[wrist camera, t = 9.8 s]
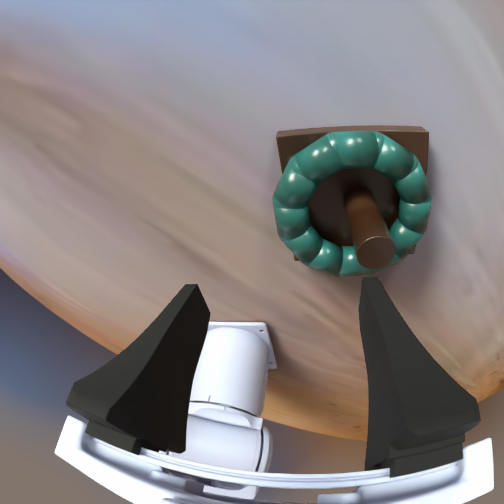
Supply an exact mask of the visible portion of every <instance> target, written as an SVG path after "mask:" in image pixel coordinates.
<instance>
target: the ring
mask: <svg viewBox="0 0 504 504" xmlns="http://www.w3.org/2000/svg"><path fill="white" fill-rule="evenodd" d="M359 168H371V169H373V170H375V171H377V172H379V173H380V174H382V175H384V176H386V177H388V178H389V179H391V180H392V182H393V184H394V186H395V188H396V190H397V192H398V194H399V196H400V204H399V213H398V218H397V219H396V220H395V222H394V223H393V224H392V226H391V227H390V229H389V232H390V235H391V237H392V240H393V242H394V245H395V255H394V257H393V259H392V260H391V261H390V262H389V263H388V264H387V265H385V266H384V267H381V268H378V269H368V268H365V267H363V266H361V265H360V264H359V263H358V261H357V259H356V255H355V250H354V246H340V245H337V244H335V243H332V242H330V241H328V240H325V239H323V238H321V237H320V235H319V234H318V233H317V232H316V230H315V229H314V228H313V226H312V225H311V224H310V219H309V207H308V203H309V202H310V200H311V198H312V196H313V194H314V192H315V191H316V189H317V187H318V185H319V183H321V182H323V181H324V180H326V179H328V178H329V177H331V176H332V175H334V174H336V173H337V172H339V171H341V170H343V169H359ZM431 201H432V192H431V188H430V186H429V183H428V181H427V179H426V176H425V174H424V172H423V169H422V167H421V165H420V163H419V160H418V158H417V157H416V156H415V155H414V154H413V153H412V152H411V151H409V150H408V149H406V148H405V147H403V146H401V145H400V144H398V143H397V142H395V141H393V140H392V139H390V138H389V137H387V136H385V135H384V134H382V133H380V132H377V131H342V132H331V133H328V134H326V135H324V136H323V137H321V138H320V139H318V140H316V141H315V142H313V143H312V144H310V145H309V146H307V147H306V148H304V149H303V150H301V151H300V152H298V153H296V154H295V155H294V156H292V157H291V159H290V160H289V162H288V164H287V166H286V168H285V170H284V172H283V175H282V177H281V179H280V181H279V183H278V185H277V187H276V190H275V192H274V195H273V206H274V212H275V219H276V225H277V231H278V235H279V237H280V239H281V240H282V241H283V242H284V243H285V245H286V246H287V247H288V248H289V249H290V250H291V251H292V252H293V253H294V255H295V256H296V257H297V258H298V259H299V260H300V261H301V262H302V263H303V264H305V265H306V266H309V267H312V268H314V269H317V270H320V271H322V272H325V273H328V274H330V275H333V276H338V277H341V276H359V275H371V274H374V273H376V272H378V271H380V270H383V269H385V268H387V267H389V266H391V265H393V264H395V263H397V262H399V261H401V260H402V259H404V258H405V257H406V255H407V254H408V253H409V252H410V251H411V249H412V248H413V247H414V246H415V244H416V243H417V242H418V241H419V239H420V238H421V237H422V236H423V234H424V233H425V231H426V228H427V223H428V218H429V213H430V207H431Z"/></svg>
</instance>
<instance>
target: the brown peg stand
mask: <svg viewBox="0 0 504 504" xmlns="http://www.w3.org/2000/svg"><path fill="white" fill-rule="evenodd" d="M342 131H377V132H380V133H382V134H384V135H385V136H387V137H389V138H390V139H392V140H393V141H395V142H397V143H398V144H400V145H401V146H403V147H405V148H406V149H408V150H409V151H411V152H412V153H413V154H414V155H415V156H416V157H417V158H418V160H419V163H420V165H421V167H422V169H423V172H424V174H425V176H426V172H427V160H428V142H429V132H428V131H426V130H425V129H423V128H422V127H414V126H341V127H323V128H309V129H297V130H287V131H278V132H277V136H276V139H277V145H278V151H279V157H280V163H281V169H282V175H283V172H284V170H285V168H286V166H287V164H288V162H289V160H290V159H291V157H292V156H294V155H295V154H296V153H298V152H300V151H301V150H303V149H304V148H306V147H307V146H309V145H310V144H312V143H313V142H315V141H316V140H318V139H320V138H321V137H323V136H324V135H326V134H328V133H331V132H342ZM399 204H400V196H399V194H398V192H397V190H396V188H395V186H394V184H393V182H392V180H391V179H389V178H388V177H386V176H384V175H382V174H380V173H379V172H377V171H375V170H373V169H371V168H359V169H343V170H341V171H339V172H337V173H336V174H334V175H332V176H331V177H329V178H328V179H326V180H324V181H323V182H321V183H319V185H318V187H317V189H316V191H315V192H314V194H313V196H312V198H311V200H310V202H309V203H308V207H309V219H310V224H311V225H312V226H313V228H314V229H315V230H316V232H317V233H318V234H319V235H320V237H321V238H323V239H325V240H328V241H330V242H332V243H335V244H337V245H340V246H354V250H355V255H356V259H357V261H358V263H359V264H360V265H361V266H363V267H365V268H368V269H378V268H381V267H384V266H385V265H387V264H388V263H389V262H390V261H391V260H392V259H393V257H394V255H395V245H394V242H393V240H392V237H391V235H390V232H389V229H390V227H391V226H392V224H393V223H394V222H395V220H396V219H397V218H398V213H399ZM415 247H416V244H415V246H414V247H413V248H412V249H411V251H410V252H409V253H408V254H414V251H415ZM294 260H295V261H300V260H299V259H298V258H297V257H296V256H295V255H294Z"/></svg>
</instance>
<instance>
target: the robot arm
mask: <svg viewBox="0 0 504 504" xmlns="http://www.w3.org/2000/svg"><path fill="white" fill-rule="evenodd" d="M209 319H210V311H209V309H208V307H207V304H206V302H205V300H204V298H203V296H202V293H201V291H200V289H199V287H198V284H186V285H185V286H184V287H183V288H182V289H181V290H180V291H179V292H178V294H177V295H176V296H175V297H174V298H173V299H172V301H171V302H170V303H169V304H168V305H167V307H166V308H165V309H164V310H163V311H162V312H161V313H160V315H159V316H158V317H157V318H156V319H155V320H154V321H153V322H152V323H151V324H150V326H149V327H148V328H147V329H146V330H145V331H144V332H143V333H142V334H141V335H140V336H139V337H138V338H137V339H136V340H135V341H134V342H133V343H131V344H130V345H129V346H128V347H127V348H126V349H125V350H123V351H122V352H121V353H120V354H118V355H117V356H116V357H115V358H113V359H112V360H111V361H109V362H108V363H107V364H105V365H104V366H102V367H101V368H99V369H98V370H96V371H94V372H93V373H91V374H89V375H88V376H86V377H84V378H82V379H80V380H78V381H76V382H75V383H74V385H73V387H72V389H71V392H70V394H69V396H68V399H67V401H66V405H67V406H68V407H69V408H71V409H72V410H74V411H75V412H77V413H78V414H80V415H81V416H83V417H84V418H86V419H88V420H89V423H88V425H87V424H86V423H84V422H82V421H80V420H78V419H76V418H73V417H71V416H68V417H67V420H66V422H65V425H64V428H63V430H62V433H61V436H60V439H59V441H58V444H57V447H56V450H55V454H56V455H58V456H59V457H61V458H62V459H64V460H65V461H67V462H68V463H70V464H71V465H73V466H74V467H76V468H77V469H79V470H80V471H81V472H83V473H84V474H86V475H87V476H89V477H90V478H92V479H93V480H95V481H96V482H98V483H99V484H101V485H103V486H104V487H106V488H107V489H109V490H111V491H112V492H114V493H116V494H118V495H120V496H121V497H123V498H125V499H127V500H128V501H130V502H132V503H134V504H463V503H465V502H467V501H470V500H472V499H474V498H477V497H479V496H480V495H483V494H485V493H487V492H489V491H491V490H493V488H494V470H493V452H492V443H491V438H487V439H485V440H483V441H480V442H477V443H474V444H472V445H469V446H466V447H464V448H462V442H464V441H465V435H464V433H466V432H467V431H469V430H470V429H472V428H474V427H475V426H476V425H478V423H479V422H480V420H481V419H480V412H479V407H478V404H477V401H476V398H474V397H473V396H472V395H471V394H469V393H468V392H467V391H466V390H465V389H464V388H462V387H461V386H460V385H459V384H458V383H457V382H456V381H455V380H454V379H453V378H452V377H451V376H450V375H449V374H448V373H447V372H446V371H445V370H444V369H443V368H442V367H441V366H440V365H439V364H438V363H437V362H436V361H435V360H434V359H433V357H432V356H431V355H430V354H429V353H428V352H427V350H426V349H425V348H424V347H423V345H422V344H421V343H420V342H419V340H418V339H417V338H416V336H415V335H414V334H413V332H412V331H411V329H410V328H409V327H408V325H407V324H406V322H405V321H404V319H403V318H402V316H401V315H400V313H399V312H398V310H397V309H396V307H395V306H394V304H393V302H392V301H391V299H390V297H389V296H388V294H387V292H386V291H385V289H384V287H383V285H382V284H381V282H380V280H379V278H378V277H364V278H363V280H362V288H361V296H360V303H359V320H360V332H361V337H362V343H363V349H364V355H365V361H366V368H367V374H368V389H369V418H368V438H367V449H366V459H365V471H363V472H352V473H338V474H278V473H267V471H268V469H269V466H270V463H271V458H272V452H273V439H272V436H271V434H270V433H269V430H268V429H267V427H263V426H262V422H263V418H259V416H260V415H261V413H262V411H263V407H264V400H265V393H266V386H267V378H268V371H269V369H276V368H277V362H276V358H275V355H274V351H273V347H272V343H271V339H270V336H269V332H268V328H267V325H266V324H265V323H262V322H209ZM359 486H360V487H359ZM259 487H271V488H287V489H332V488H347V487H357V488H356V489H355V490H354V492H352V493H341V494H320V495H319V496H318V500H317V503H287V502H272V501H261V500H252V499H253V498H255V494H257V493H258V490H259Z"/></svg>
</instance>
